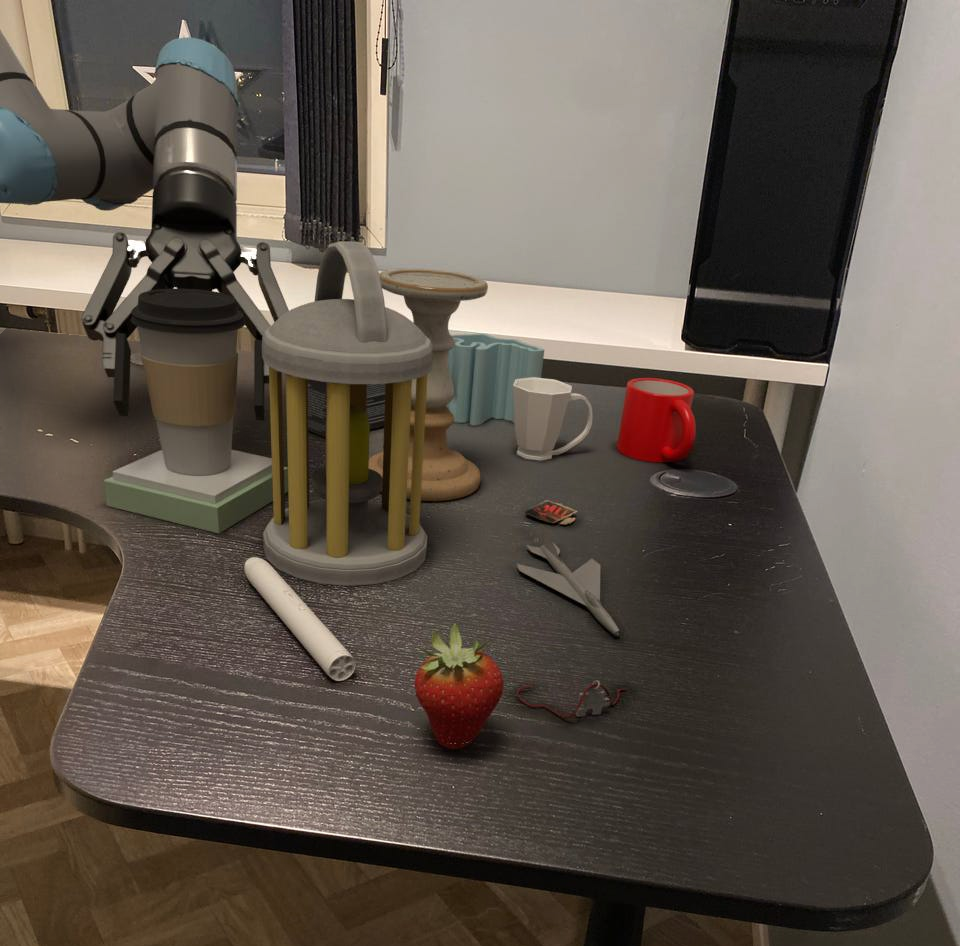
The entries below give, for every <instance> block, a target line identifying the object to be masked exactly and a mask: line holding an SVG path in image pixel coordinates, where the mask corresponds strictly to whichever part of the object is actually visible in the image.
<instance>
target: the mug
mask: <svg viewBox="0 0 960 946" xmlns="http://www.w3.org/2000/svg"><path fill="white" fill-rule="evenodd" d="M694 396H695V391H694V389H693V388H692V387H690V386H688V385H686V384H684V383H681V382H678V381H674V380H669V379H665V378H656V377H655V378H654V377H640V378H633V379H630V380H629V381H628V382H627V384H626V389H625V395H624V400H623V405H622V406H623V407H622V413H621V419H620V424H619V430H618V437H617V441H616V442H617V443H616V449H617V451H618V452H619V453H621V454H623V456H627V457H629V458H632V459H636V460H639V461H645V462H648V463H649V462H651V463H678V462H680V461H683V460H684V459H686V458H687V457H688V455H690V453H691V451H692V449H693V446H694V444H695V441H696V435H697V434H696V432H697V425H696V419H695V415H694V413H693V411H692V405H693V401H694Z"/></svg>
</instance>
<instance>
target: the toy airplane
mask: <svg viewBox="0 0 960 946" xmlns="http://www.w3.org/2000/svg"><path fill="white" fill-rule="evenodd" d="M540 529H541V536H542V544H541V545H540V546H539V547H537V546H533V545H529V544H525V546H526V547H527V549H528V550H529V551H530V553H533V554H535V555H537V556H541V557H542V558H543V559H546V560H547V562H548V563H549V565H550V566H551V567H552V568H553V570H554V571H555V572H552V571H549V570H545V569H540V568H536V567H533V566H529V565H524V564H521V563H516V566H517V569H518V571H519V572H521V573H523V574H524V575H527V576H529V577H530V578H532V579H534V580H536V581H537V582H540V583H542V584H543V585H546V586H547V587H549V588H551V589H553V590H554V591H557V592H559V593H561V594H563V595H564V596H566V597H568V598H570V599H572V600H574V601H576V602H577V603H580V604H582V605H583V606H585V607H586V609H587V610H588V611H589V612H590V614H591V615H592V616H593V617H594V618H595V619H596V620H597V622H599V624H600V625H602V627H604V628H605V630H607V631H608V632H610V633H611V634H612V635H613V636H615V637H619V636H620V635H621V631H620V629H619V627H618V625H617V624H616V622H615V620H614V619H613V617H612V616H611V615H610V614H609V612H608V611H607V610H606V609H605V608H604V607H603V604H602V603H601V567H602V565H601V564H600V563H598V562H597V561H596V560H595V559H593V558H590V559H589V560H587V561H586V562H585V563H583V564H582V565H580V567H578V568H577V569H575V570H574V571H572V570H571V569H570V568H569V566H567V565H566V563H565V562H564V561H563V560H562V559H561V557H560V552H561V549H560V548H559V547H558V545H557V544H556V543H554V542H553V541H552V538H551V537H550V536H551V535H550V534H549V532H548V530H547V529H546V528H545V527H544V526H543V524H540ZM525 530H529V528H527V527H525ZM529 534H531V536H533V534H534V532H529ZM536 539H537V540H536ZM538 540H539V538H538V537H536V538H534V540H533V541H534V542H535V543H537V542H538Z"/></svg>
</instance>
